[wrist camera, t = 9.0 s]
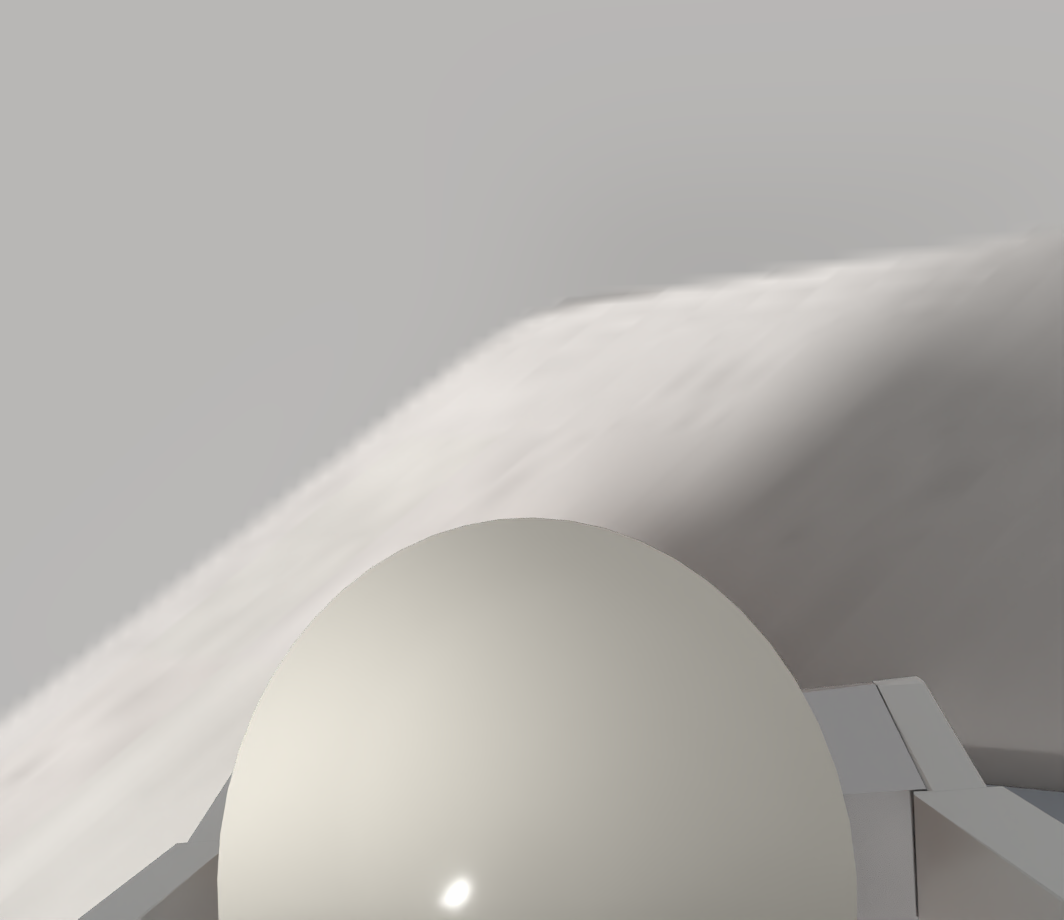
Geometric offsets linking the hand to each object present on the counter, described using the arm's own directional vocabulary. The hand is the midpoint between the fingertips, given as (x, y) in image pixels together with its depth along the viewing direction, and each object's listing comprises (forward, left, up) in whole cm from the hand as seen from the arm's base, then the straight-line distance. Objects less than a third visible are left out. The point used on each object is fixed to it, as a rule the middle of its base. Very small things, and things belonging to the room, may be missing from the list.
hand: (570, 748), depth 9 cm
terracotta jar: (-1, 0, -5) cm, 5 cm away
